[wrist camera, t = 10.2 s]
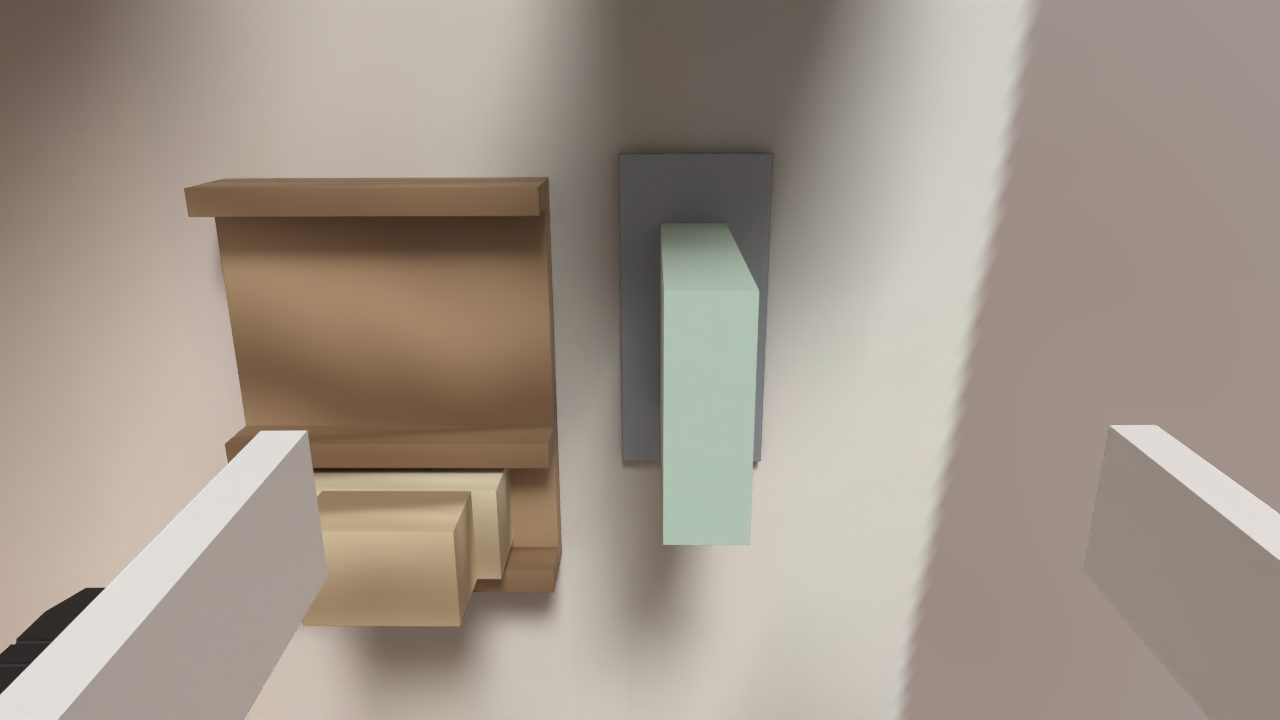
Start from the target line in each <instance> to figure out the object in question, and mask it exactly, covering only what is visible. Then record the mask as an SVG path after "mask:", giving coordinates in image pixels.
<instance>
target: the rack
mask: <svg viewBox="0 0 1280 720" xmlns="http://www.w3.org/2000/svg"><path fill="white" fill-rule="evenodd" d="M184 191H185V197H186V203H187V209H188V216H189V217H215V222H216V228H217V235H218V242H219V248H220V255H221V262H222V268H223V275H224V281H225V288H226V295H227V301H228V308H229V315H230V321H231V328H232V335H233V341H234V348H235V354H236V361H237V368H238V374H239V381H240V388H241V394H242V401H243V407H244V414H245V421H246V426H245V427H244V428H243V429H242V430H241V431H239V432H238V433H237V434H236V435H235V436H234V437H232V438H231V439H230V440H229V441H228V442H227V443H225V447H226V454H227V460H228V463H229V462H230V461H231V460H232V459H233V458H234V457H235V456H236V455H237V454H238V453H239V452H240V451H241V450H242V449H243V448H244V447H245V446H246V445H247V444H248V443H249V442H250V441H251V440H252V439H253V438H254V437H255V436H256V435H257V434H258V433H259V432H260V431H308V438H309V445H310V452H311V459H312V466H313V468H510V485H511V504H512V522H513V542H512V545H511V549H510V552H509V555H508V558H507V562H506V565H505V568H504V572H503V575H502V578H501V579H477V581H476V584H475V586H474V589H473V592H554V590H555V585H556V580H557V575H558V570H559V565H560V560H561V554H562V545H561V517H560V489H559V461H558V433H557V406H556V378H555V350H554V322H553V294H552V266H551V238H550V211H549V183H548V178H269V179H221V180H217V181H213V182H209V183H205V184H200V185H196V186H192V187H188V188H184Z"/></svg>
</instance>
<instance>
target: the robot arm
mask: <svg viewBox="0 0 1280 720" xmlns="http://www.w3.org/2000/svg"><path fill="white" fill-rule="evenodd" d="M1083 572H1084V573H1085V574H1086V576H1087V577H1088V578H1089V579H1090V580H1091V581H1092V583H1093V584H1094V585H1095V586H1096V587H1097V588H1098V590H1099V591H1100V592H1101V593H1102V594H1103V595H1104V596H1105V598H1106V599H1107V600H1108V601H1109V602H1110V604H1112V606H1113V607H1114V608H1115V609H1116V611H1117V612H1118V613H1119V614H1120V615H1121V616H1122V618H1123V619H1124V620H1125V621H1126V622H1127V623H1128V625H1129V626H1130V627H1131V628H1132V629H1133V630H1134V632H1135V633H1136V634H1137V635H1138V636H1139V637H1140V639H1141V640H1142V641H1143V642H1144V643H1145V644H1146V646H1147V647H1148V648H1149V649H1150V650H1151V651H1152V652H1153V654H1154V655H1155V656H1156V657H1157V658H1158V660H1159V661H1160V662H1161V663H1162V664H1163V665H1164V666H1165V668H1166V669H1167V670H1168V671H1169V672H1170V674H1171V675H1172V676H1173V677H1174V678H1175V679H1176V681H1177V682H1178V683H1179V684H1180V685H1181V686H1182V688H1183V689H1184V690H1185V691H1186V692H1187V693H1188V694H1189V696H1190V697H1191V698H1192V699H1193V700H1194V702H1195V703H1196V704H1197V705H1198V706H1199V707H1200V709H1201V710H1202V711H1203V712H1204V713H1205V714H1206V716H1207V717H1208V718H1209V719H1210V720H1280V514H1279V513H1277V512H1276V511H1275V510H1273V509H1272V508H1270V507H1269V506H1268V505H1266V504H1265V503H1263V502H1262V501H1261V500H1259V499H1258V498H1257V497H1255V496H1254V495H1252V494H1251V493H1250V492H1248V491H1247V490H1246V489H1244V488H1243V487H1241V486H1240V485H1238V484H1237V483H1236V482H1234V481H1233V480H1232V479H1230V478H1229V477H1227V476H1226V475H1225V474H1223V473H1222V472H1221V471H1219V470H1217V469H1216V468H1215V467H1213V466H1212V465H1211V464H1209V463H1208V462H1207V461H1205V460H1204V459H1203V458H1201V457H1200V456H1198V455H1197V454H1196V453H1194V452H1193V451H1191V450H1190V449H1189V448H1187V447H1186V446H1184V445H1183V444H1182V443H1180V442H1179V441H1178V440H1176V439H1175V438H1173V437H1172V436H1171V435H1169V434H1168V433H1166V432H1165V431H1163V430H1162V429H1161V428H1159V427H1158V426H1157V425H1110V426H1109V431H1108V436H1107V441H1106V448H1105V452H1104V458H1103V463H1102V468H1101V474H1100V480H1099V485H1098V490H1097V496H1096V501H1095V506H1094V512H1093V517H1092V523H1091V528H1090V534H1089V539H1088V544H1087V550H1086V555H1085V561H1084V566H1083ZM327 577H328V573H327V566H326V559H325V552H324V545H323V538H322V530H321V523H320V516H319V509H318V502H317V495H316V488H315V481H314V474H313V466H312V459H311V452H310V445H309V438H308V431H260V432H259V433H258V434H257V435H256V436H255V437H254V438H253V439H252V440H251V441H250V442H249V443H248V444H247V445H246V446H245V447H244V448H243V449H242V450H241V451H240V452H239V453H238V454H237V455H236V456H235V457H234V458H233V459H232V460H231V461H230V462H229V463H228V464H227V465H226V466H225V467H224V468H223V469H222V470H221V471H220V472H219V473H218V474H217V475H216V477H215V478H214V479H213V480H212V481H211V482H210V483H209V484H208V485H207V486H206V487H205V488H204V489H203V490H202V491H201V492H200V493H199V494H198V495H197V496H196V497H195V498H194V499H193V500H192V501H191V502H190V503H189V504H188V505H187V506H186V507H185V508H184V509H183V510H182V511H181V512H180V513H179V514H178V515H177V516H176V517H175V518H174V519H173V520H172V521H171V522H170V523H169V524H168V525H167V526H166V527H165V528H164V529H163V530H162V531H161V532H160V533H159V534H158V535H157V536H156V537H155V538H154V539H153V540H152V541H151V542H150V543H149V544H148V545H147V546H146V547H145V548H144V549H143V551H142V552H141V553H140V554H139V555H138V556H137V557H136V558H135V559H134V560H133V561H132V562H131V563H130V564H129V565H128V566H127V567H126V568H125V569H124V570H123V571H122V572H121V573H120V574H119V575H118V576H117V577H116V578H115V579H114V580H113V581H112V582H111V583H110V584H109V585H108V586H107V587H106V588H85V589H83V590H82V591H80V592H78V593H76V594H75V595H73V596H71V597H70V598H68V599H66V600H64V601H63V602H61V603H59V604H58V605H56V606H54V607H52V608H51V609H49V610H47V611H46V612H44V613H43V614H42V615H41V616H40V617H39V618H38V619H37V620H36V621H35V622H34V623H33V624H32V625H31V626H30V627H29V628H28V629H27V630H26V631H25V632H23V633H22V634H21V635H20V636H19V637H18V638H17V639H16V640H17V642H16V644H15V645H10V646H9V647H8V648H7V649H6V650H5V651H3V652H2V653H1V654H0V720H244V719H245V717H246V715H247V713H248V712H249V710H250V708H251V707H252V705H253V703H254V702H255V700H256V698H257V696H258V695H259V693H260V691H261V690H262V688H263V686H264V684H265V683H266V681H267V679H268V678H269V676H270V674H271V672H272V671H273V669H274V667H275V666H276V664H277V662H278V661H279V659H280V657H281V655H282V654H283V652H284V650H285V649H286V647H287V645H288V643H289V642H290V640H291V638H292V637H293V635H294V633H295V632H296V630H297V628H298V626H299V625H300V623H301V621H302V620H303V618H304V616H305V614H306V613H307V611H308V609H309V608H310V606H311V604H312V602H313V601H314V599H315V597H316V596H317V594H318V592H319V591H320V589H321V587H322V585H323V584H324V582H325V580H326V579H327Z"/></svg>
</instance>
